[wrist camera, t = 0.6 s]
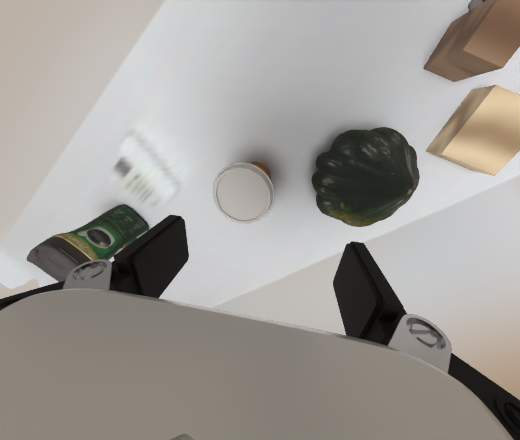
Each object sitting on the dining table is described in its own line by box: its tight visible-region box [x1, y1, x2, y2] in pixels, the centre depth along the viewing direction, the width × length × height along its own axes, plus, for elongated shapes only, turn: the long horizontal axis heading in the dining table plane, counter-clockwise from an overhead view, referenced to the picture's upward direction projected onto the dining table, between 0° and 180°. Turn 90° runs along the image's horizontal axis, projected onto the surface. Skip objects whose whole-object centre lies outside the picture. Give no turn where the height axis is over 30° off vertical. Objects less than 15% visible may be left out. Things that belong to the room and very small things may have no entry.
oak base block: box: [426, 85, 520, 176], centre depth 28 cm, size 9×9×4 cm
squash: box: [312, 127, 420, 227], centre depth 29 cm, size 14×15×15 cm
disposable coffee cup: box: [213, 162, 275, 223], centre depth 32 cm, size 10×10×12 cm
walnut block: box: [424, 0, 520, 82], centre depth 23 cm, size 5×5×7 cm
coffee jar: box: [27, 205, 148, 282], centre depth 39 cm, size 10×8×19 cm
